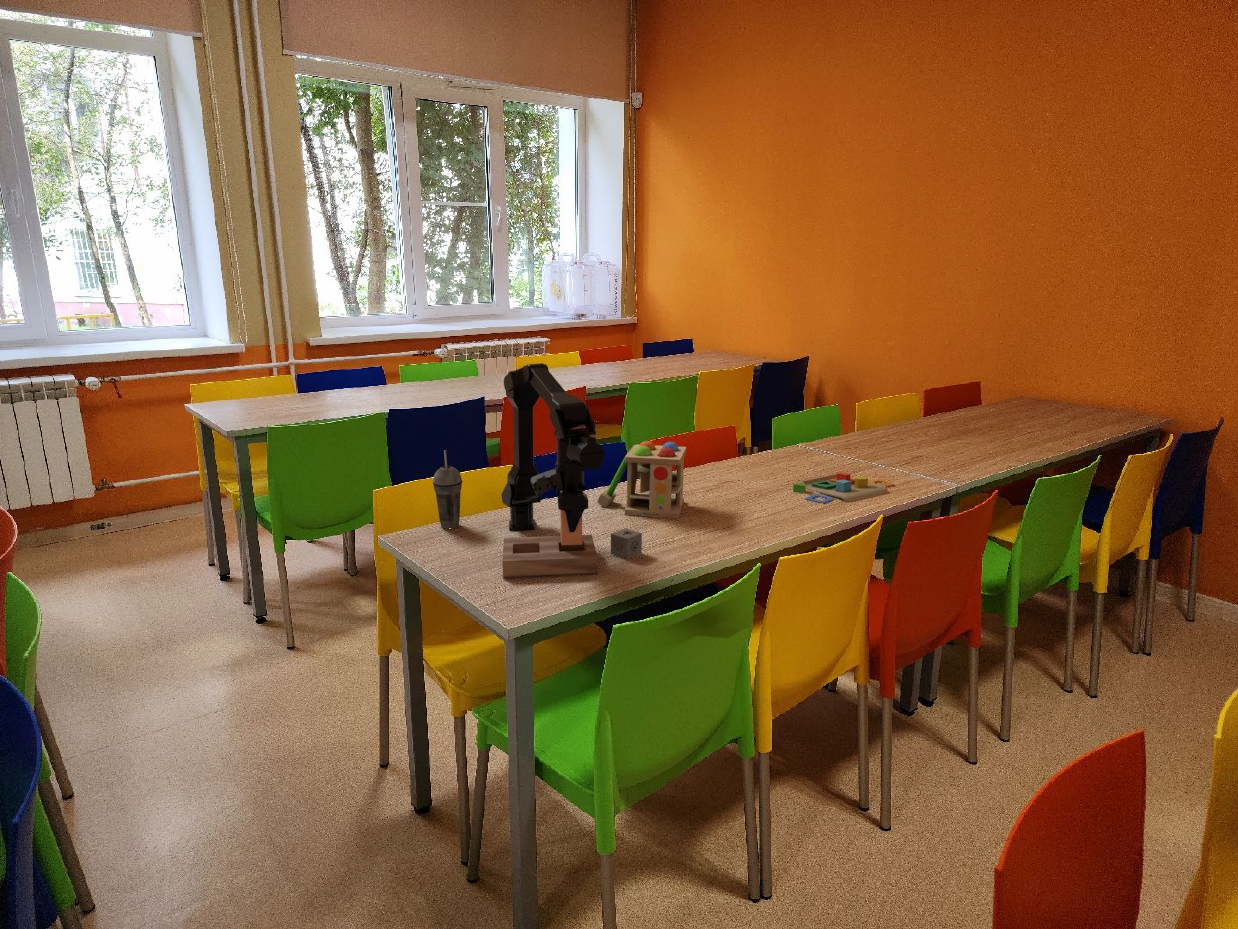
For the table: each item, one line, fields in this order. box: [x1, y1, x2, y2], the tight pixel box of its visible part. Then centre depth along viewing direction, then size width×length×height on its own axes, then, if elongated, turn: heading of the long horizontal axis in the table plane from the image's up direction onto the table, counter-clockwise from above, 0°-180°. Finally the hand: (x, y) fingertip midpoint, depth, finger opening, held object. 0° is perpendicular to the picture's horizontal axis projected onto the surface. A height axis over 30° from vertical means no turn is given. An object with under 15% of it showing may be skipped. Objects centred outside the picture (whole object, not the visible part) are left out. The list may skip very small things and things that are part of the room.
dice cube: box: [610, 527, 643, 560], centre depth 181 cm, size 5×5×5 cm
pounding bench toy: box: [597, 440, 687, 519], centre depth 213 cm, size 23×14×18 cm, turn 79°
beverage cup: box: [432, 449, 463, 530], centre depth 197 cm, size 7×7×20 cm
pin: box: [559, 510, 583, 545], centre depth 174 cm, size 4×4×10 cm
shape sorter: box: [792, 472, 896, 505], centre depth 231 cm, size 34×19×5 cm, turn 122°
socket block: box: [501, 534, 598, 580], centre depth 175 cm, size 14×20×4 cm
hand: (571, 528), depth 174 cm, fingers closed on pin, 4 cm apart
